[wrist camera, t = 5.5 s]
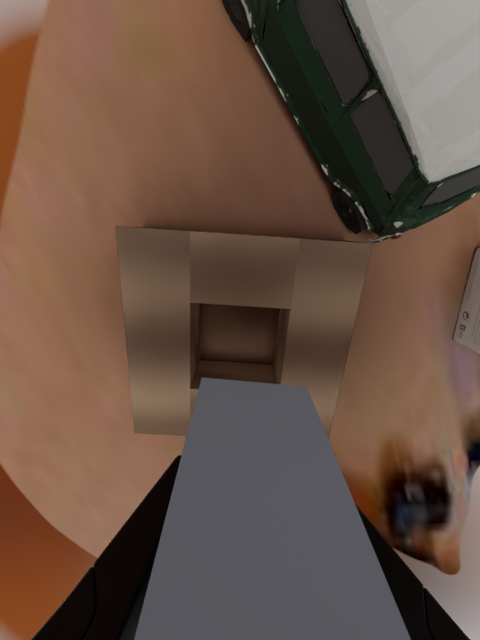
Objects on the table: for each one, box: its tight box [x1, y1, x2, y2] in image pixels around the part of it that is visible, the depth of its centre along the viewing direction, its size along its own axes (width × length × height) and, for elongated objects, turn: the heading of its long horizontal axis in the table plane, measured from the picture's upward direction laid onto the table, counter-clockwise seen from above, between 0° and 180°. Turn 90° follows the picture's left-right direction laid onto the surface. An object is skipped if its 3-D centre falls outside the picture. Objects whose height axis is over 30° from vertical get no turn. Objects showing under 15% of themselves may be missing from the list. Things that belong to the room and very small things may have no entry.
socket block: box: [115, 226, 373, 439], centre depth 18 cm, size 14×14×4 cm
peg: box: [134, 378, 411, 640], centre depth 7 cm, size 4×4×8 cm
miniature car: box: [222, 0, 480, 243], centre depth 11 cm, size 9×18×8 cm, turn 36°
